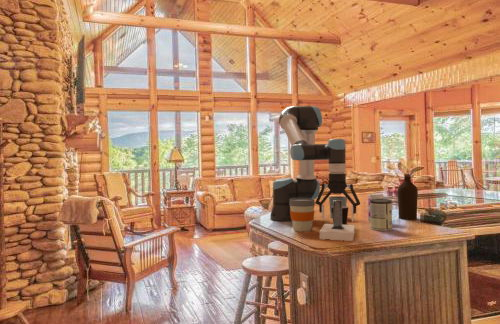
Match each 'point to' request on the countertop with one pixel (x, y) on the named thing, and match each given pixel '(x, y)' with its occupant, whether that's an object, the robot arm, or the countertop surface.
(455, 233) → the countertop surface
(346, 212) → the coffee mug
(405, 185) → the olive oil
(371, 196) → the supplement can
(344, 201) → the drinking glass
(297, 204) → the reusable coffee cup
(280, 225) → the countertop surface
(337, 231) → the block with square hole
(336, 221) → the steel pin
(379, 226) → the coffee can
